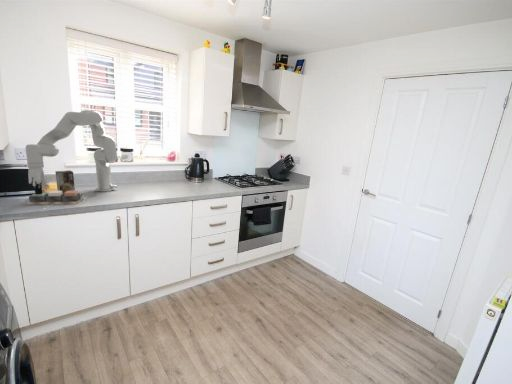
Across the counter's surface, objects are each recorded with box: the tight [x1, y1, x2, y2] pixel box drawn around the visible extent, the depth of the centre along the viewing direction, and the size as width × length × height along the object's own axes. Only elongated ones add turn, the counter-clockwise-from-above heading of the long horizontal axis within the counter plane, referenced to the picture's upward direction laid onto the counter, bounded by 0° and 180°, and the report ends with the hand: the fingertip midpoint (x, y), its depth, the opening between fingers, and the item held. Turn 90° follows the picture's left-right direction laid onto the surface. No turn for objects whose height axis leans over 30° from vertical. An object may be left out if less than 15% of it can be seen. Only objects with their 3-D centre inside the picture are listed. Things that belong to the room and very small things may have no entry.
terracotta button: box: [64, 190, 79, 196], centre depth 170 cm, size 6×6×4 cm
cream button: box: [47, 190, 63, 196], centre depth 167 cm, size 6×6×4 cm
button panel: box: [25, 192, 84, 205], centre depth 168 cm, size 27×11×4 cm, turn 110°
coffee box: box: [55, 170, 76, 193], centre depth 185 cm, size 9×6×16 cm
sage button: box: [31, 192, 48, 196], centre depth 165 cm, size 6×6×4 cm
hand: (38, 193), depth 164 cm, fingers closed
